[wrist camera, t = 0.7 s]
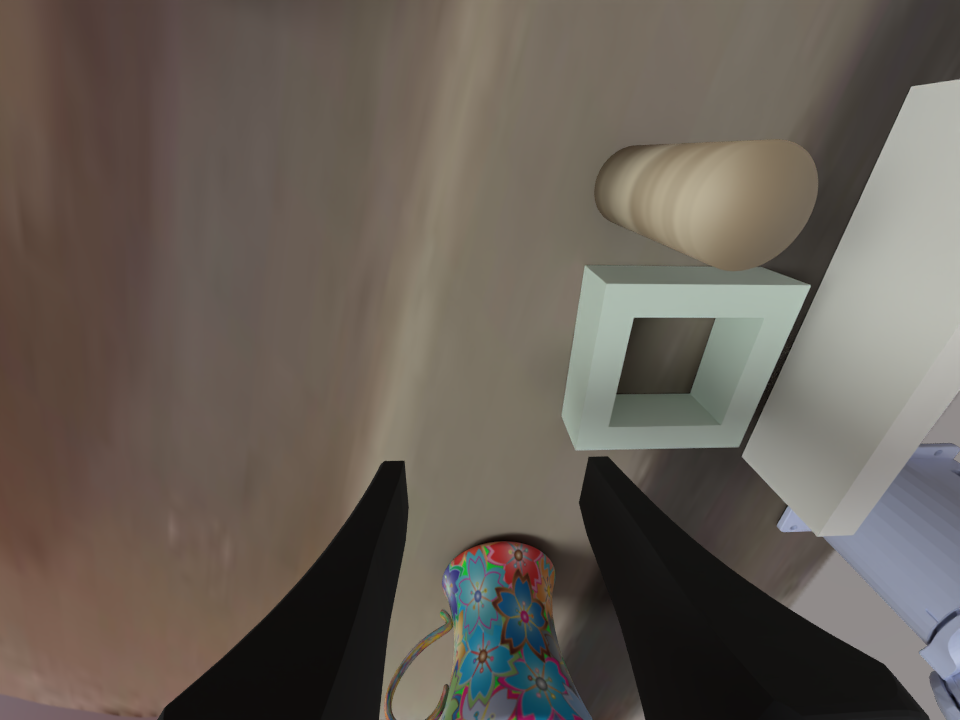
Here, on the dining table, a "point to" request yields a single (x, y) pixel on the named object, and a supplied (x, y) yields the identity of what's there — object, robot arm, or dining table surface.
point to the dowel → (712, 197)
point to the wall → (874, 332)
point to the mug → (500, 640)
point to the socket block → (723, 369)
